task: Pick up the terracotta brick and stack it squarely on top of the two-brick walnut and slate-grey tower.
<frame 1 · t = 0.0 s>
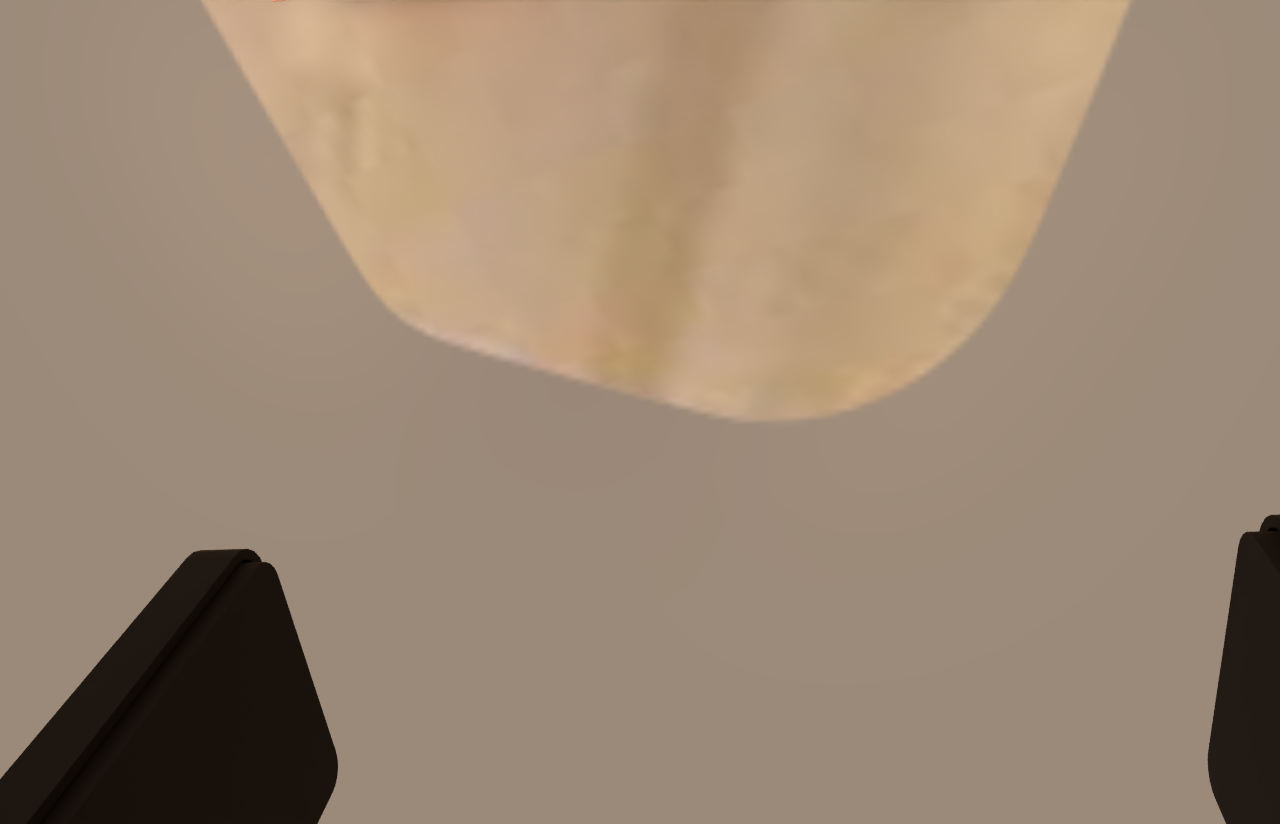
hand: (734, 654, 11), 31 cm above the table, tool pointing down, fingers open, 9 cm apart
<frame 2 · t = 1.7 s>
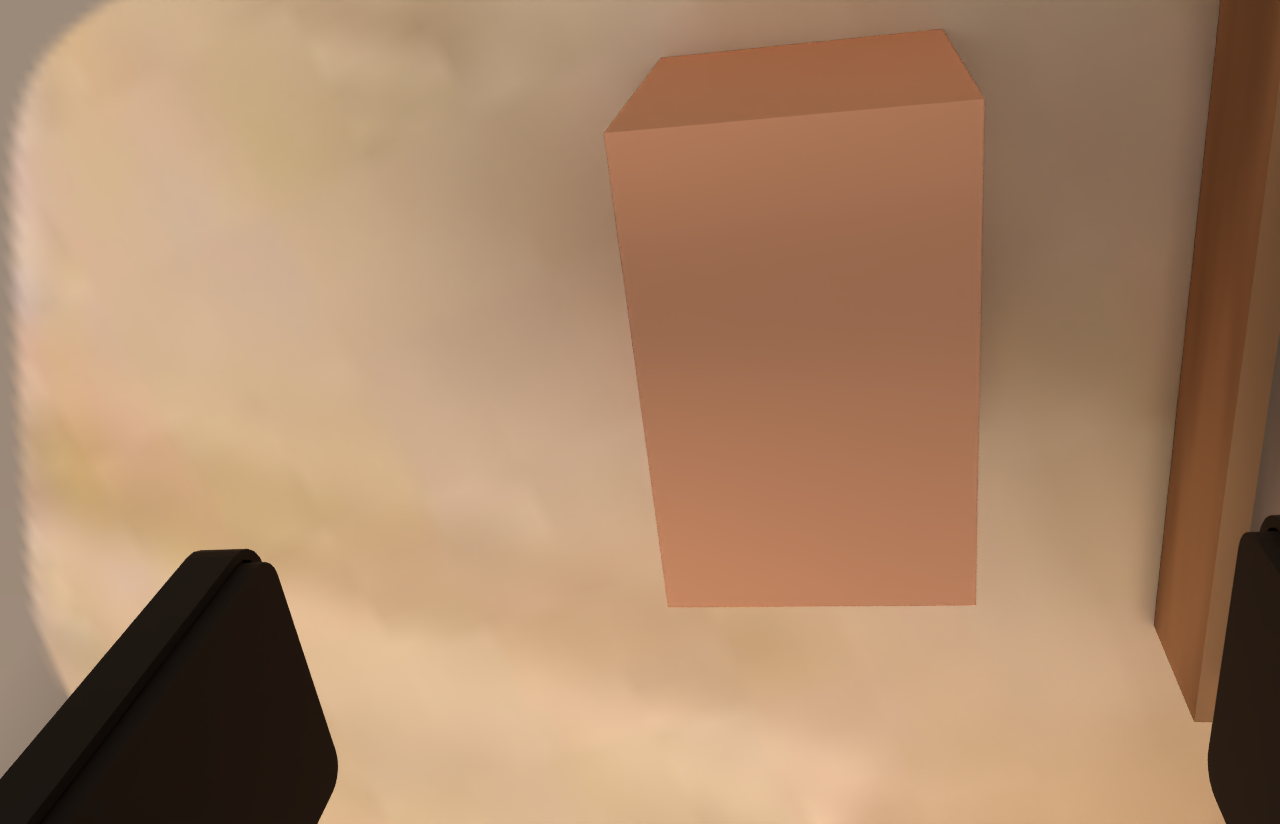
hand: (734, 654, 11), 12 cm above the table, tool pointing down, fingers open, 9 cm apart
terracotta brick: (810, 254, 22), on the table
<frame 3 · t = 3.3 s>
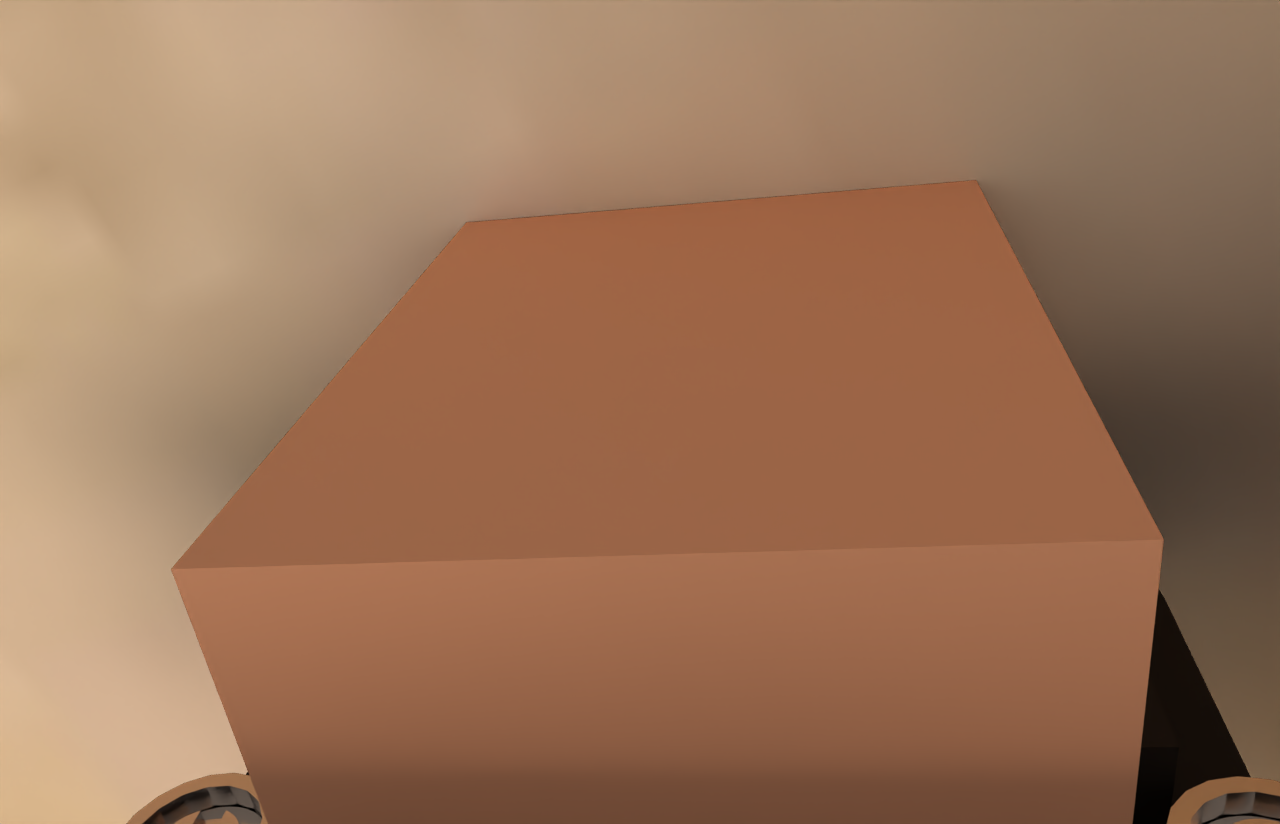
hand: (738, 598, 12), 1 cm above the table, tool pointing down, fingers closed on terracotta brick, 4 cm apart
terracotta brick: (743, 542, 13), on the table, touching gripper
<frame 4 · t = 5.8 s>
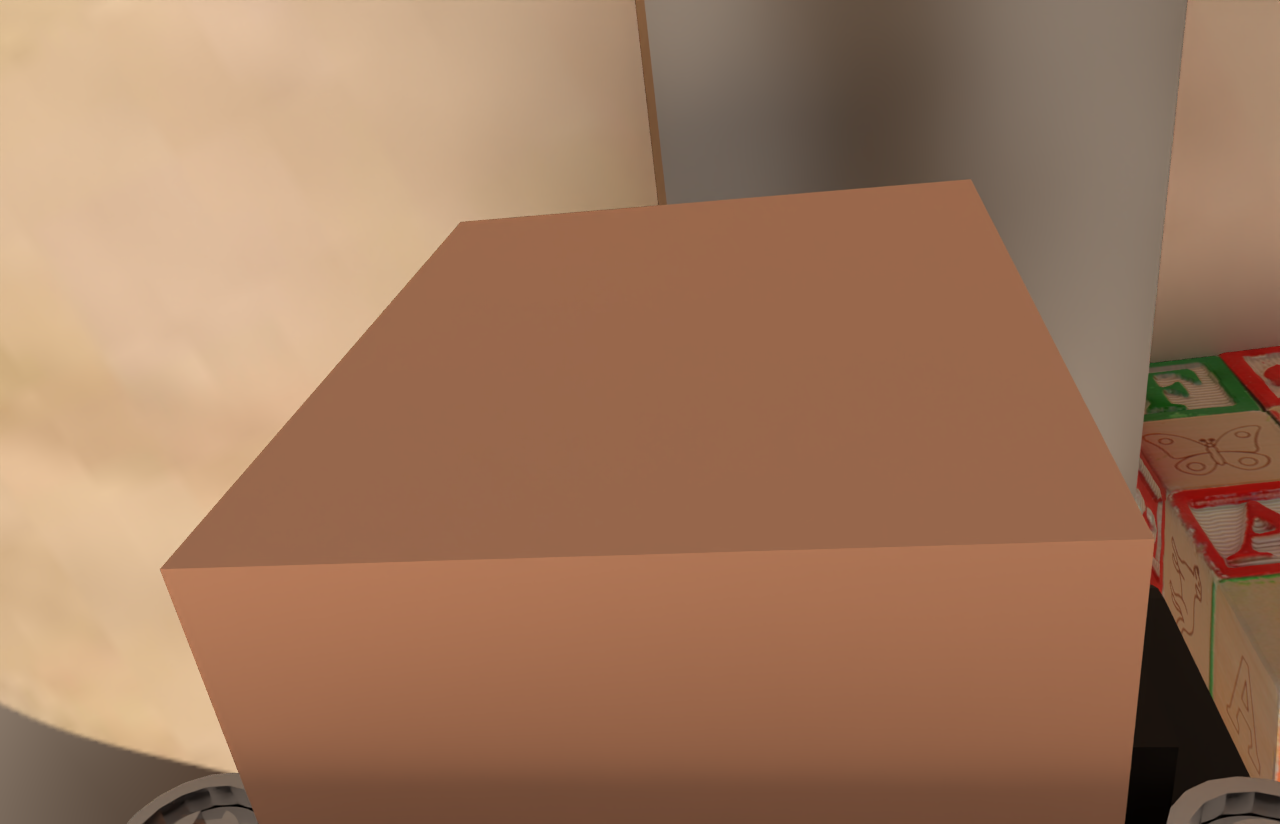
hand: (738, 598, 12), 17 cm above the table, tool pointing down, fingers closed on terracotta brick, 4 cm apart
stack of blocks: (1193, 670, 32), on the table
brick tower: (880, 172, 26), on the table
terracotta brick: (739, 542, 13), point 16 cm above the table, touching gripper
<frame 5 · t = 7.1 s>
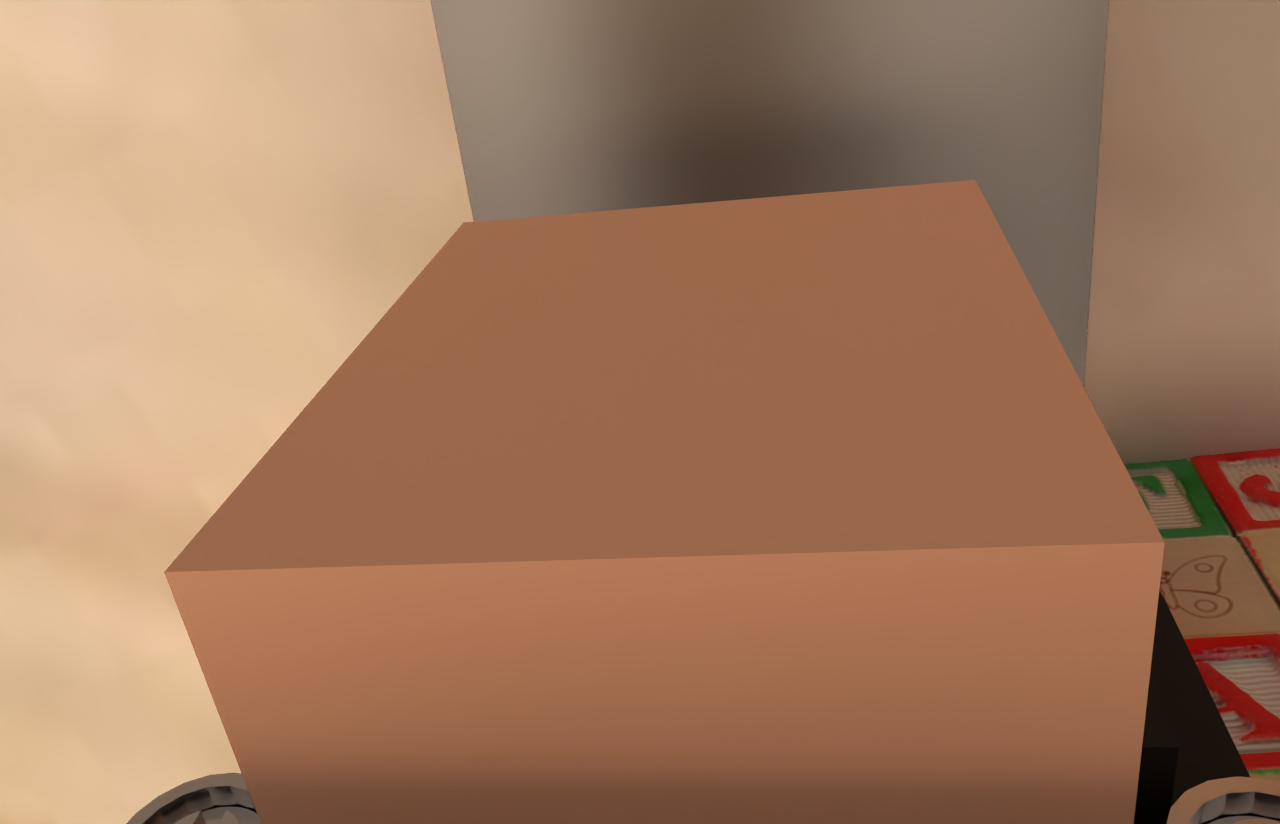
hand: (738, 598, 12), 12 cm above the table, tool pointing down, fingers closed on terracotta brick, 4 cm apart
stack of blocks: (1174, 805, 28), on the table
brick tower: (788, 236, 22), on the table
terracotta brick: (742, 543, 12), point 11 cm above the table, touching gripper
when the fingers open (8 cm above the table, at t = 8.2 s): terracotta brick drops 1 cm, resting on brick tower.
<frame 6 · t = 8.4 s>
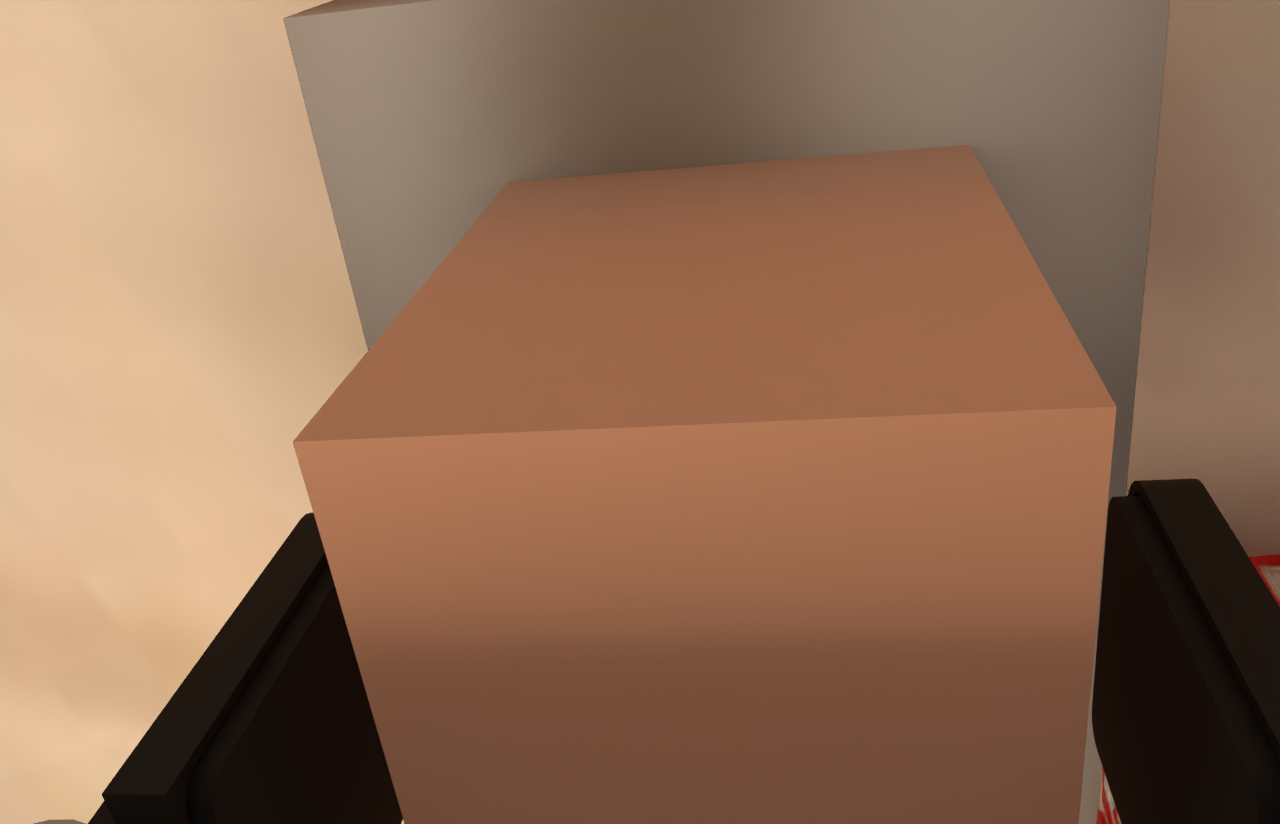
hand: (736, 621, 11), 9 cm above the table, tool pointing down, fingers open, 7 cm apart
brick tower: (760, 301, 19), on the table
terracotta brick: (755, 480, 14), point 6 cm above the table, touching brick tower
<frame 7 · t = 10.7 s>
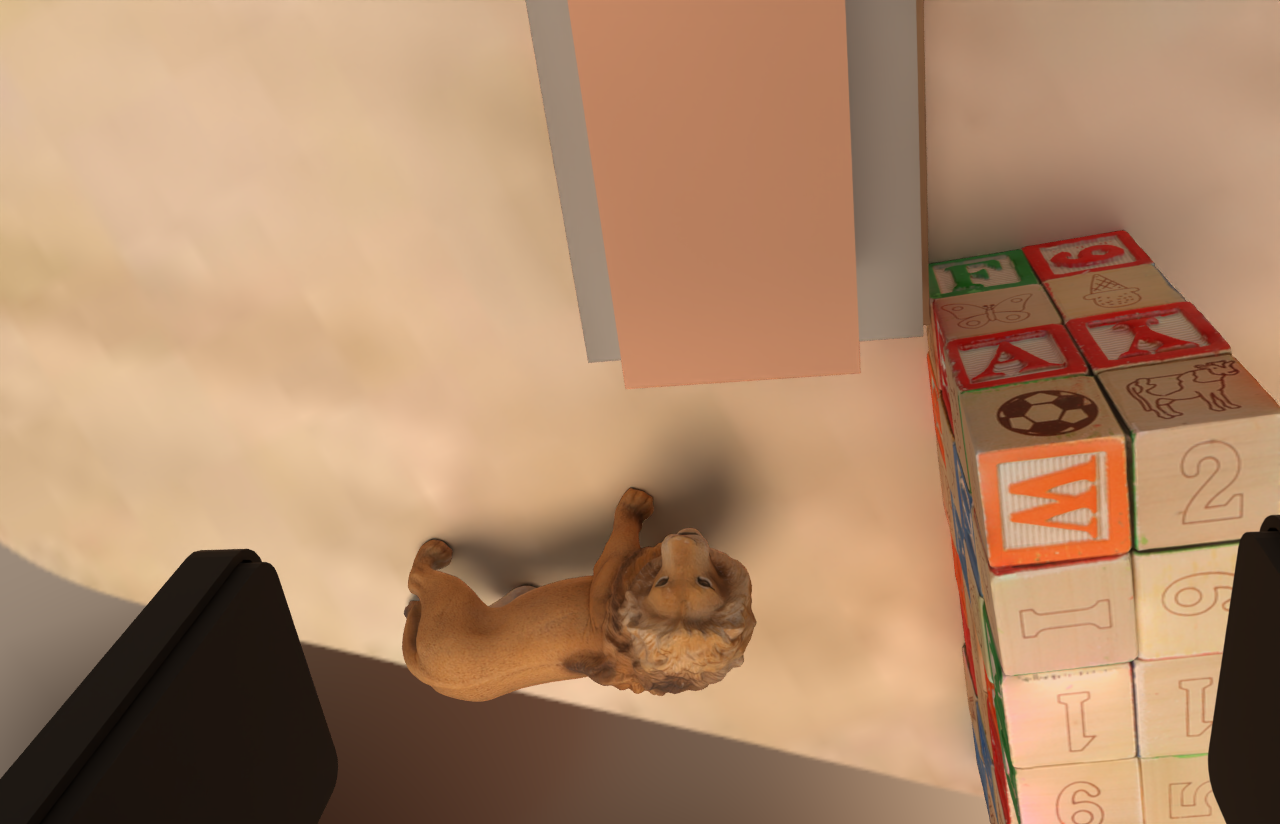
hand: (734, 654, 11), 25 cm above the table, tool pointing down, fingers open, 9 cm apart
stack of blocks: (1038, 526, 38), on the table
lion figurine: (582, 532, 41), on the table
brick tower: (737, 78, 32), on the table
terracotta brick: (734, 126, 27), point 6 cm above the table, touching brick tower
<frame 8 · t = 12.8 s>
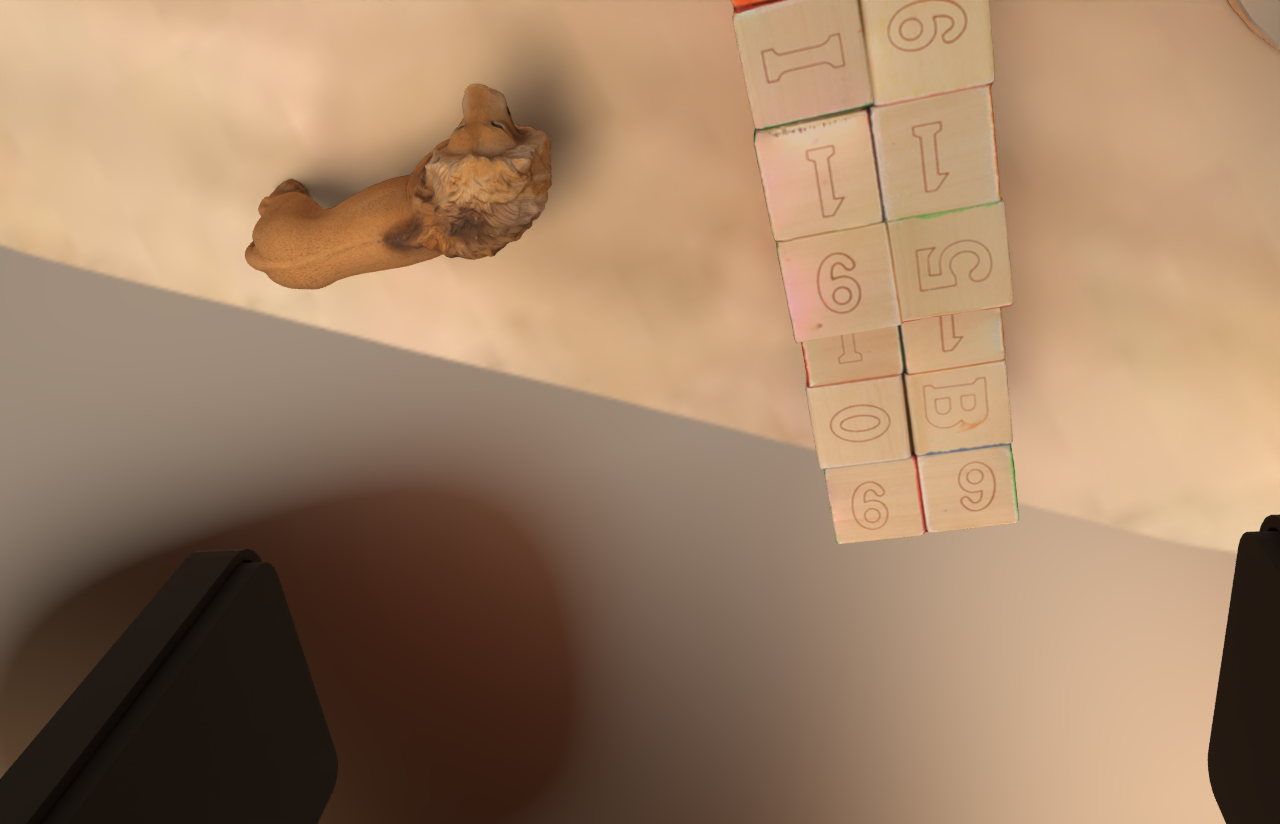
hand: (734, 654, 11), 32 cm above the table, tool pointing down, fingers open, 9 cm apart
stack of blocks: (867, 156, 41), on the table
lion figurine: (427, 170, 43), on the table
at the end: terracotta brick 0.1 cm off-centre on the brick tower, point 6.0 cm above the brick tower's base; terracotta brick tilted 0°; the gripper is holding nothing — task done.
